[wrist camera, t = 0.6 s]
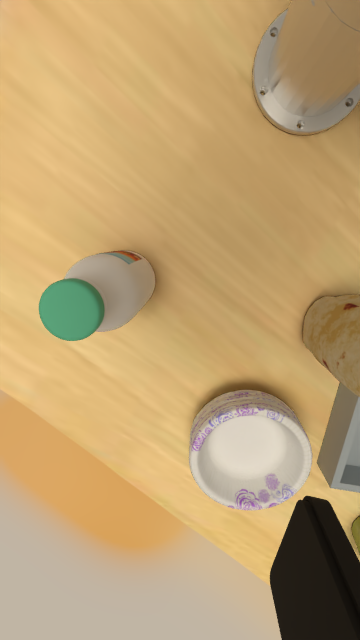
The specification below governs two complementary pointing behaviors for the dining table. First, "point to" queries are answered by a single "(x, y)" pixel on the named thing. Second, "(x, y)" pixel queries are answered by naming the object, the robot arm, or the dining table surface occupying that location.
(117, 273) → the milk bottle
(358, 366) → the food model
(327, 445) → the bin
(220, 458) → the paper bowls
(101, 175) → the dining table surface
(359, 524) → the plant pot
